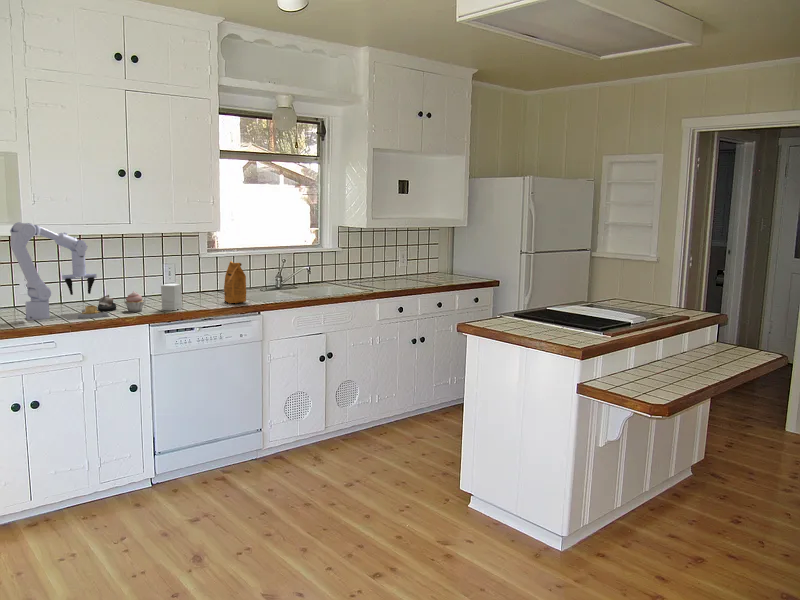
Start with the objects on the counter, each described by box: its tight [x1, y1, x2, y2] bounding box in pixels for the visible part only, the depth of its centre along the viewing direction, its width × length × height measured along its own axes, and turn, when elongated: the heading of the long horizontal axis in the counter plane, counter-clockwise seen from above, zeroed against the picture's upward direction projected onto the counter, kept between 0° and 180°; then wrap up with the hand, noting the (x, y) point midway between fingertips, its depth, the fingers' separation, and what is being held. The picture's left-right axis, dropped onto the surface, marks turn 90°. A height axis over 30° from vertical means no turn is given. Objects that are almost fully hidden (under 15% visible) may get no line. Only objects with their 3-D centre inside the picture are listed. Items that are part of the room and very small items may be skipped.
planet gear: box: [81, 305, 101, 314], centre depth 313 cm, size 7×7×4 cm
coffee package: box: [223, 260, 247, 304], centre depth 366 cm, size 10×12×22 cm
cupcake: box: [124, 290, 145, 313], centre depth 334 cm, size 9×9×10 cm
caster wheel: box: [97, 294, 117, 312], centre depth 331 cm, size 7×11×10 cm
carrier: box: [61, 308, 111, 321], centre depth 314 cm, size 18×17×4 cm
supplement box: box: [160, 283, 183, 311], centre depth 340 cm, size 7×7×13 cm
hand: (80, 294), depth 320 cm, fingers open, 7 cm apart
